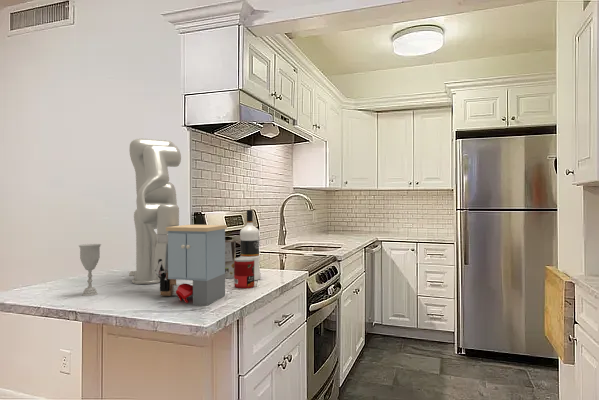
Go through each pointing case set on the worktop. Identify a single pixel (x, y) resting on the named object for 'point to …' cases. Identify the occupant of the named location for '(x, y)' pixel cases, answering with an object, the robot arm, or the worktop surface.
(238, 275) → the canned food
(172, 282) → the blade tool
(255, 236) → the vodka
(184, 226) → the cabinet
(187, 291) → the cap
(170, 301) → the worktop surface
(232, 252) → the coffee box
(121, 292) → the worktop surface
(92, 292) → the chalice
